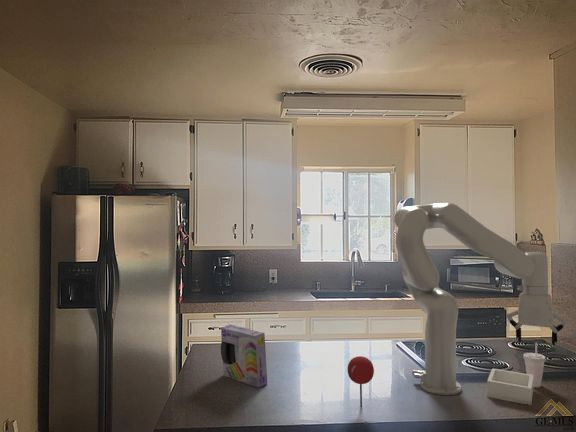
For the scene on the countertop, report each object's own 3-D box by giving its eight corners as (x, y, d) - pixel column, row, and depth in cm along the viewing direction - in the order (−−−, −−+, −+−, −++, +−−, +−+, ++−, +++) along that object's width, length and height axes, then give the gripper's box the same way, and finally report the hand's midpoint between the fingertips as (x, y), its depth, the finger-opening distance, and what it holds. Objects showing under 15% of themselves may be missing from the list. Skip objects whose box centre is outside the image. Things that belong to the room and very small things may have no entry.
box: (487, 396, 140) (487, 380, 140) (492, 383, 150) (492, 368, 150) (531, 405, 133) (531, 388, 133) (533, 390, 144) (533, 375, 144)
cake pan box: (220, 375, 160) (219, 325, 160) (231, 371, 164) (230, 322, 163) (257, 389, 147) (256, 335, 147) (268, 385, 151) (267, 332, 150)
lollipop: (347, 401, 138) (347, 352, 137) (373, 402, 137) (372, 353, 136) (348, 413, 130) (347, 361, 130) (375, 414, 129) (374, 362, 129)
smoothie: (548, 389, 144) (548, 346, 144) (526, 388, 146) (526, 345, 145) (541, 381, 151) (541, 340, 150) (520, 380, 152) (520, 339, 151)
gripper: (504, 290, 148) (505, 342, 149) (566, 294, 139) (567, 349, 140) (506, 286, 155) (508, 336, 155) (566, 289, 146) (567, 342, 146)
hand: (536, 342), depth 148 cm, fingers open, 9 cm apart
